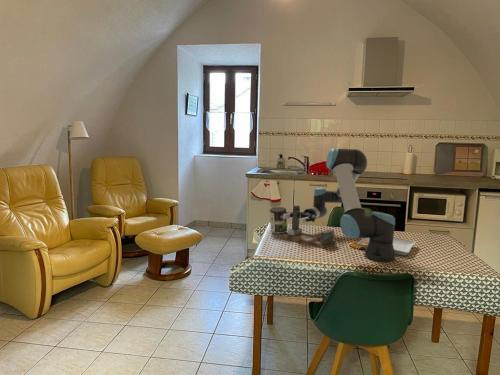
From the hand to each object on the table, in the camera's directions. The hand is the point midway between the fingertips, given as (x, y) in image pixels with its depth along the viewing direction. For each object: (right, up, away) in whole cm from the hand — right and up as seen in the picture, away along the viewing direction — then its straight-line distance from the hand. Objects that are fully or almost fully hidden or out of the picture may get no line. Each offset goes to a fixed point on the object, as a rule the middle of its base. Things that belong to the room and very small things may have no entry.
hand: (292, 218), depth 230 cm
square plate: (+52, -16, -8) cm, 55 cm away
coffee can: (-7, -9, +16) cm, 20 cm away
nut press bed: (+9, -13, -1) cm, 15 cm away
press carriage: (+2, -9, +4) cm, 10 cm away
